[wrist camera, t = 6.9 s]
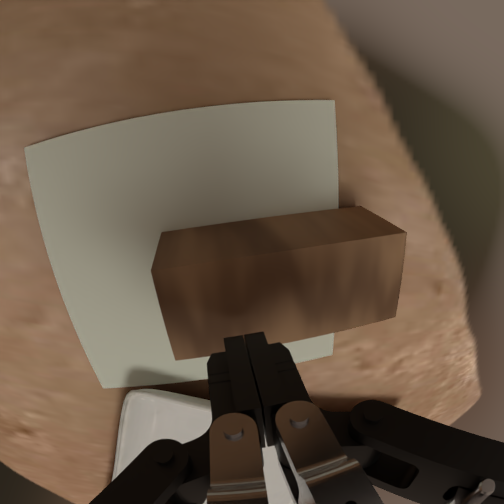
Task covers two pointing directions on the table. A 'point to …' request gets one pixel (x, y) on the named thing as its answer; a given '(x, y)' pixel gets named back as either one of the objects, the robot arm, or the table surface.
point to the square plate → (178, 432)
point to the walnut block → (277, 278)
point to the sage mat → (169, 214)
